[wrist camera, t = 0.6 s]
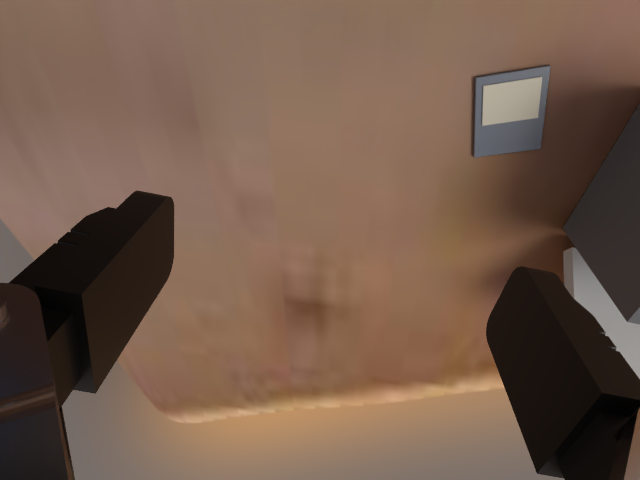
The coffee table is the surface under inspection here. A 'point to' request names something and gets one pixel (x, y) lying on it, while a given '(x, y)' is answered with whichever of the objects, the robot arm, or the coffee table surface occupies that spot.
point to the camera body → (613, 222)
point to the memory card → (510, 111)
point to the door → (601, 307)
